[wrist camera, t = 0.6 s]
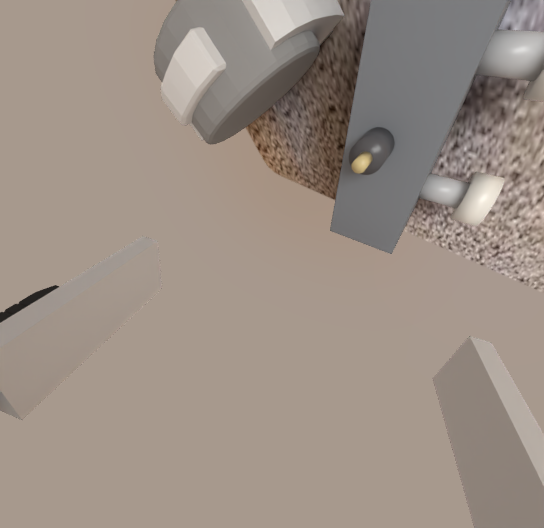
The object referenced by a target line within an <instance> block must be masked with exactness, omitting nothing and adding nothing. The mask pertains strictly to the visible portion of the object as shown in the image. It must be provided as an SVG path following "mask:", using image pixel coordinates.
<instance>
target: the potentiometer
mask: <svg viewBox="0 0 544 528" xmlns="http://www.w3.org/2000/svg"><path fill="white" fill-rule="evenodd" d="M394 144H395V141H394V137H393V135H392V134H391V132H390V131H389V130H387V129H385V128H382V127H375V128H372V129H370V130H369V131H367V132H366V133H365V134H364V135H363V136H362V137H361V138H360V139H359V141H358V142H357V143H356V144H355V145H354V146H353V147H352V148H351V150H350V152H349V163H350V165H351V167H352V170H353V171H354V172H355V173H358V174H362V175H370V174H373V173H375V172H377V171H378V170H379V169H380V168H381V166H382V165H383V164H384V162H385V161H386V160H387V158H388V157H389V156H390V154H391V153H392V151H393V149H394Z"/></svg>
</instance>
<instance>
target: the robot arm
mask: <svg viewBox="0 0 544 528" xmlns="http://www.w3.org/2000/svg"><path fill="white" fill-rule="evenodd" d="M161 289H162V285H161V273H160V260H159V248H158V241H156V240H153V239H150V238H147V237H144V236H142V237H141V238H139V239H137V240H136V241H134V242H132V243H131V244H129V245H127V246H126V247H124V248H123V249H121V250H120V251H118V252H116V253H114V254H113V255H111V256H109V257H108V258H106V259H105V260H103V261H101V262H99V263H98V264H97V265H95V266H93V267H91V268H90V269H88V270H86V271H85V272H83V273H82V274H80V275H78V276H77V277H75V278H73V279H72V280H70V281H68V282H67V283H65V284H63V285H62V286H60V287H59V286H56V285H55V286H52V287H49V288H46V289H43V290H40V291H38V292H35V293H34V294H32V295H30V296H28V297H27V298H25V299H23V300H22V301H20V302H19V304H15V305H13V306H11V307H9V308H8V309H6V310H5V312H1V313H0V410H1V411H3V412H5V413H7V414H9V415H12V416H14V417H16V418H18V419H21V420H23V419H24V418H25V417H26V416H27V415H28V414H29V413H30V412H31V411H32V410H33V409H34V408H35V407H36V406H37V405H39V404H40V403H41V401H43V400H44V399H45V398H46V397H47V396H48V395H49V394H50V393H51V392H52V391H53V390H54V389H56V388H57V387H58V386H59V385H60V384H61V383H62V382H63V381H64V380H65V379H66V378H67V377H68V376H69V375H70V374H72V373H73V372H74V371H75V370H76V369H77V368H78V367H79V366H80V365H81V364H82V363H83V362H84V361H85V360H86V359H88V358H89V357H90V356H91V355H92V354H93V353H94V352H95V351H96V350H97V349H98V348H99V347H100V346H101V345H102V344H104V343H105V342H106V341H107V340H108V339H109V338H110V337H111V336H112V335H113V334H114V333H115V332H116V331H117V330H118V329H120V327H122V326H123V325H124V324H125V323H126V322H127V321H128V320H129V319H130V318H131V317H132V316H133V315H134V314H135V313H137V312H138V311H139V310H140V309H141V308H142V307H143V306H144V305H145V304H146V303H147V302H148V301H149V300H150V299H151V298H153V297H154V296H155V295H156V294H157V293H158V292H159V291H160V290H161ZM433 381H434V385H435V389H436V393H437V396H438V400H439V403H440V407H441V410H442V414H443V418H444V421H445V425H446V428H447V431H448V435H449V439H450V443H451V446H452V450H453V453H454V457H455V460H456V464H457V467H458V471H459V475H460V478H461V482H462V485H463V489H464V492H465V496H466V500H467V503H468V507H469V510H470V514H471V518H472V521H473V525H474V528H544V434H543V432H542V431H541V429H540V427H539V425H538V424H537V422H536V420H535V418H534V417H533V415H532V413H531V411H530V409H529V408H528V406H527V404H526V402H525V401H524V399H523V397H522V396H521V394H520V392H519V390H518V389H517V387H516V385H515V383H514V382H513V380H512V378H511V376H510V374H509V373H508V371H507V369H506V368H505V366H504V364H503V362H502V361H501V359H500V357H499V355H498V353H497V352H496V350H495V348H494V346H493V345H492V343H491V342H488V341H484V340H481V339H478V338H474V337H471V336H469V337H468V338H467V340H466V341H465V342H464V343H463V344H462V345H461V346H460V348H459V349H458V350H457V351H456V352H455V353H454V355H453V356H452V357H451V358H450V359H449V361H448V362H447V363H446V364H445V365H444V366H443V367H442V368H441V369H440V371H439V372H438V373H437V374H436V375H435V377H434V378H433Z"/></svg>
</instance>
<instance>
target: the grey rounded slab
mask: <svg viewBox="0 0 544 528" xmlns="http://www.w3.org/2000/svg"><path fill="white" fill-rule="evenodd" d="M343 17H344V13H343V11H342V9H341V7H340V5H339V3H338V1H337V0H177V1H176V3H175V5H174V6H173V8H172V10H171V11H170V13H169V14H168V16H167V17H166V19H165V21H164V23H163V26H162V28H161V30H160V33H159V35H158V38H157V40H156V46H155V52H154V64H155V71H156V74H157V76H158V77H159V79H160V80H161V81H162V85H161V97H162V100H163V101H164V103H165V104H166V105H167V107H168V108H169V109H170V111H171V112H172V113H173V115H174V116H175V117H176V119H177V120H178V121H179V123H180V124H181V125H185V126H186V125H188V124H190V125H191V126H192V128H193V129H194V131H195V132H196V133H197V135H198V136H199V138H200V139H201V140H205V141H206V142H207V143H208V144H216V143H219V142H222V141H224V140H226V139H228V138H230V137H231V136H233V135H235V134H236V133H238V132H239V131H241V130H242V129H244V128H245V127H246V126H248V125H249V124H250V123H252V122H253V121H254V120H256V119H257V118H258V117H259V116H261V115H262V114H263V113H264V112H266V111H267V110H268V109H269V108H270V107H271V106H273V105H274V104H275V103H276V102H277V101H278V100H279V99H280V98H281V97H283V96H284V95H285V94H286V93H287V92H288V91H289V90H290V89H291V88H292V87H293V86H294V85H295V84H296V83H297V82H298V81H299V79H300V78H301V77H302V76H303V75H304V74H305V73H306V71H307V70H308V69H309V68H310V67H311V65H312V64H313V62H314V60H315V59H316V57H317V55H318V53H319V49H320V45H321V44H322V43H323V42H324V41H325V40H326V39H327V37H328V36H329V35H330V34H331V33H332V32H333V31H332V30H333V29H334V27H335V26H336V25H337V24H338V23H339V22H340V20H341V19H342V18H343Z"/></svg>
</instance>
